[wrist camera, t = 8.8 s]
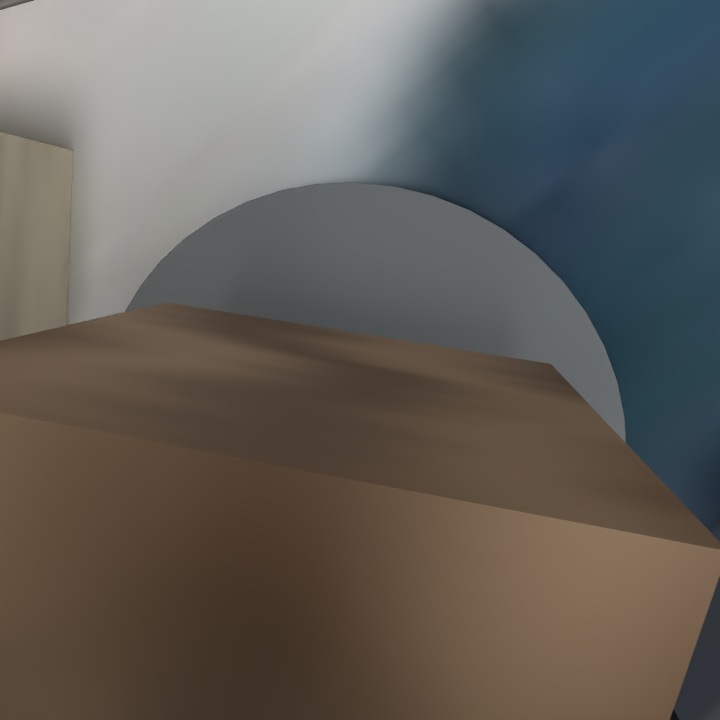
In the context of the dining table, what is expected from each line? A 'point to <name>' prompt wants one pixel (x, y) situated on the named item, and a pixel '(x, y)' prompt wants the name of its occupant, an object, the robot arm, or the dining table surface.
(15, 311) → the beige cube
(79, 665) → the block
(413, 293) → the pad
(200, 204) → the dining table surface
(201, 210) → the dining table surface
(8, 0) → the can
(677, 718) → the robot arm
